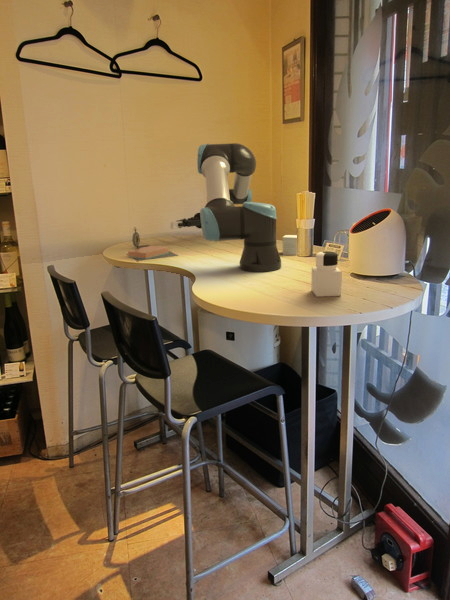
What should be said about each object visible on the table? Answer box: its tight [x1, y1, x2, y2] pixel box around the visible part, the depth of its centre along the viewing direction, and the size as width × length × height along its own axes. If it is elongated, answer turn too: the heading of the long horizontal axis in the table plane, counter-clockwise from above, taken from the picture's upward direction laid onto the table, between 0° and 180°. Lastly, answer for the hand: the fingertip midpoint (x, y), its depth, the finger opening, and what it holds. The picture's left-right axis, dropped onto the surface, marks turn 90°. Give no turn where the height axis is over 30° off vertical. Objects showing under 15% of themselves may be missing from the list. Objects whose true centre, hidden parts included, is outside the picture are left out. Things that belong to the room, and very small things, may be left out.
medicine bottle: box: [310, 250, 343, 298], centre depth 134 cm, size 7×7×12 cm
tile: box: [127, 245, 170, 259], centre depth 199 cm, size 3×10×14 cm
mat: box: [126, 250, 180, 263], centre depth 200 cm, size 18×18×1 cm
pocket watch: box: [132, 226, 151, 249], centre depth 216 cm, size 8×8×10 cm
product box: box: [282, 234, 298, 256], centre depth 192 cm, size 6×6×7 cm
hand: (171, 225), depth 209 cm, fingers closed
